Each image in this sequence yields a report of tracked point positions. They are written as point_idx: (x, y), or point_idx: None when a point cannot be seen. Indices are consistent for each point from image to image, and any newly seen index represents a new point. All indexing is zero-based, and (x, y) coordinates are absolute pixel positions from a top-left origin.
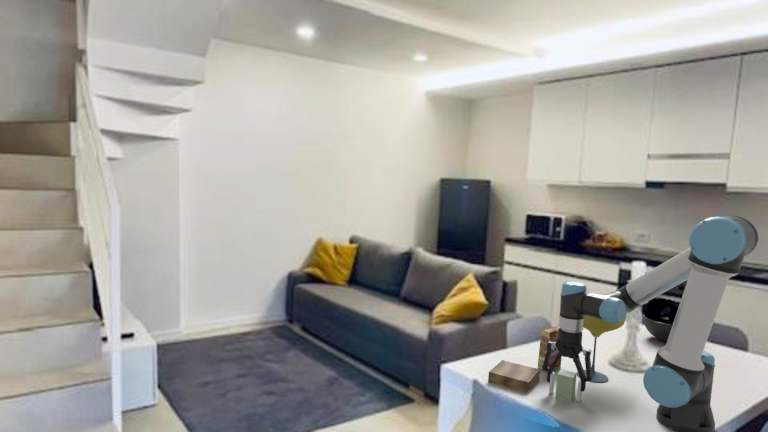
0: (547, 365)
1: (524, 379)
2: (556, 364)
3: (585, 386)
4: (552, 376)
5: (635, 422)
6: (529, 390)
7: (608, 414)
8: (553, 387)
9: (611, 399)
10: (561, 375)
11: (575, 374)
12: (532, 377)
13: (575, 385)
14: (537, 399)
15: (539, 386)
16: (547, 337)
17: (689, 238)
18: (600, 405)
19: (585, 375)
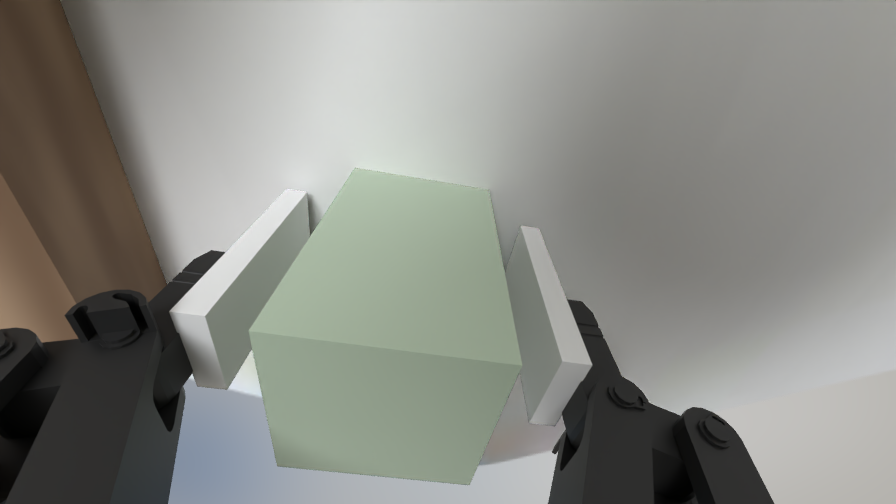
0: (2, 404)
1: (32, 318)
2: (130, 495)
3: (600, 336)
4: (235, 373)
5: (810, 371)
6: (154, 261)
7: (679, 349)
8: (294, 217)
9: (852, 91)
10: (332, 462)
11: (501, 409)
12: (36, 243)
13: (498, 248)
14: None
15: (160, 131)
16: None
17: None
18: (672, 261)
19: (649, 443)
